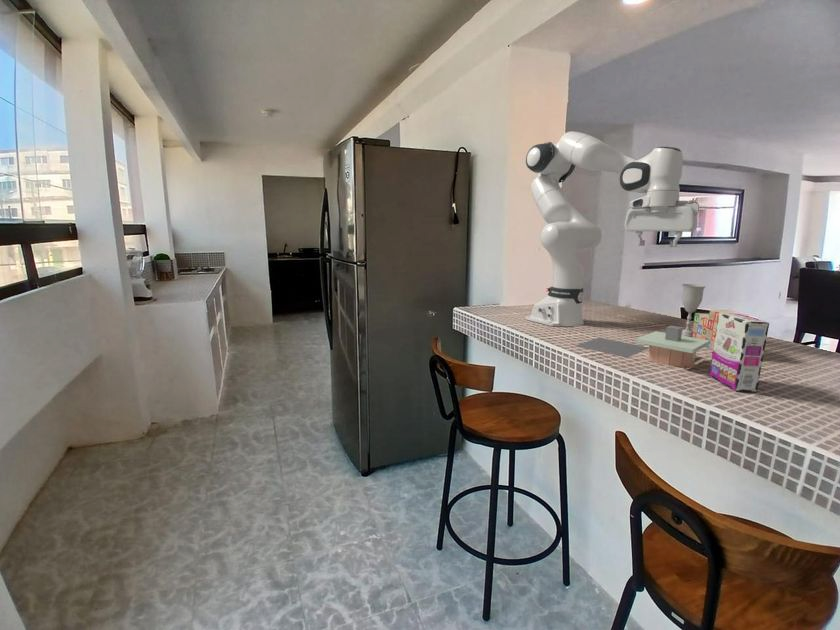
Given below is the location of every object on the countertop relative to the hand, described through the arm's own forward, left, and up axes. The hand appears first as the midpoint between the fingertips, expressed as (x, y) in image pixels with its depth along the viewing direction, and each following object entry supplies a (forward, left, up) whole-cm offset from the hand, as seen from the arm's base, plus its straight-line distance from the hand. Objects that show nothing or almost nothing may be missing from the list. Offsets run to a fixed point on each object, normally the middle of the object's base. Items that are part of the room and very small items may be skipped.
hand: (656, 246), depth 135 cm
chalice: (+7, +17, -31) cm, 36 cm away
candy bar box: (+30, -26, -31) cm, 51 cm away
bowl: (+14, -19, -31) cm, 39 cm away
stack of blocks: (+18, +8, -32) cm, 37 cm away
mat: (-3, -18, -31) cm, 36 cm away
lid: (+14, -19, -26) cm, 35 cm away
